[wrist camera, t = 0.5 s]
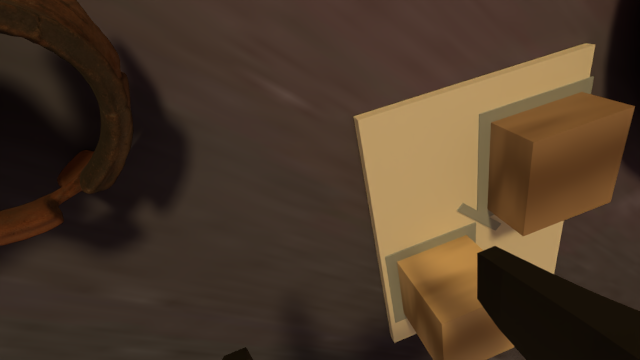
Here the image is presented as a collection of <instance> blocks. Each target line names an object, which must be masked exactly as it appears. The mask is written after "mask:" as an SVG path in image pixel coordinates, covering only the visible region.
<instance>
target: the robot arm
mask: <svg viewBox="0 0 640 360" xmlns="http://www.w3.org/2000/svg"><path fill="white" fill-rule="evenodd" d="M477 299H478V301H479V302H480V303H481V305H482V306H483V308H484V309H485V311H486V312H487V313H488V315H489V316H490V318H491V319H492V320H493V322H494V323H495V324H496V326H497V327H498V328H499V330H500V331H501V332H502V333H503V334H504V335H505V336H506V338H507V339H508V340H509V341H510V342H511V343H512V344H513V345H514V346H515V348H516V349H517V350H518V351H519V352H520V353H521V354H522V355H523V356H524V357H525V359H526V360H640V311H638V310H635V309H633V308H630V307H628V306H625V305H623V304H620V303H618V302H615V301H613V300H611V299H608V298H606V297H603V296H601V295H599V294H596V293H594V292H592V291H589V290H587V289H585V288H583V287H580V286H578V285H576V284H574V283H572V282H570V281H567V280H565V279H563V278H561V277H559V276H557V275H555V274H552V273H550V272H548V271H546V270H544V269H542V268H540V267H538V266H536V265H534V264H532V263H530V262H528V261H526V260H523V259H521V258H519V257H517V256H515V255H513V254H511V253H509V252H507V251H505V250H503V249H501V248H499V247H497V246H493V247H491V248H488V249H486V250H483V251H481V252H479V253H477ZM222 360H253V359H252V357H251V355H250V354H249V352H248V350H247V348H246V347H245V348H243V349H240V350H238V351H235V352H233V353H231V354H228V355H226V356H224V358H223V359H222Z"/></svg>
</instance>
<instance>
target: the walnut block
mask: <svg viewBox="0 0 640 360" xmlns="http://www.w3.org/2000/svg"><path fill="white" fill-rule="evenodd" d="M634 108H635V106H632V105H628V104H625V103H621V102H617V101H614V100H610V99H606V98H603V97H599V96H595V95H591V94H588V93H584V92H580V93H577V94H574V95H571V96H568V97H565V98H562V99H559V100H556V101H553V102H550V103H547V104H544V105H541V106H538V107H536V108H533V109H530V110H527V111H524V112H521V113H518V114H515V115H512V116H509V117H506V118H503V119H500V120H497V121H494V122H491V132H490V157H489V181H488V206H487V209H488V210H489V211H491V212H492V213H493V214H494V215H496V216H497V217H498V218H500V219H501V220H502V221H504V222H505V223H506V224H508V225H509V226H510V227H511V228H513V229H514V230H515V231H517V232H518V233H519V234H521V235H522V236H526V235H528V234H531V233H533V232H536V231H538V230H541V229H543V228H546V227H548V226H551V225H553V224H556V223H559V222H561V221H564V220H566V219H569V218H571V217H574V216H576V215H579V214H581V213H584V212H586V211H589V210H591V209H594V208H596V207H599V206H601V205H604V204H607V203H609V202H611V198H612V194H613V190H614V186H615V182H616V178H617V174H618V171H619V167H620V163H621V159H622V155H623V151H624V147H625V143H626V139H627V136H628V132H629V128H630V124H631V120H632V116H633V112H634Z"/></svg>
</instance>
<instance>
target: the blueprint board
mask: <svg viewBox="0 0 640 360" xmlns="http://www.w3.org/2000/svg"><path fill="white" fill-rule="evenodd" d="M594 49H595V45H594V44H587V43H585V44H582V45H578V46H575V47H572V48H569V49H566V50H563V51H559V52H556V53H553V54H550V55H547V56H544V57H540V58H537V59H534V60H531V61H528V62H525V63H521V64H518V65H515V66H512V67H509V68H506V69H502V70H499V71H496V72H493V73H490V74H486V75H483V76H480V77H477V78H474V79H471V80H467V81H464V82H461V83H458V84H455V85H452V86H448V87H445V88H442V89H439V90H436V91H433V92H429V93H426V94H423V95H420V96H417V97H414V98H410V99H407V100H404V101H401V102H398V103H395V104H391V105H388V106H385V107H382V108H379V109H376V110H372V111H369V112H366V113H363V114H360V115H357V116H353V117H354V123H355V129H356V135H357V141H358V147H359V152H360V158H361V164H362V170H363V176H364V182H365V188H366V194H367V199H368V205H369V211H370V217H371V223H372V229H373V235H374V241H375V247H376V252H377V258H378V264H379V270H380V276H381V282H382V288H383V294H384V299H385V305H386V311H387V317H388V323H389V329H390V335H391V338H392V340H393V341H394V343H395V342H398V341H400V340H403V339H405V338H407V337H410V336H412V335H415V334H417V333H416V332H415V330H414V328H413V327H412V325H411V324H410V322H409V321H408V319H407V317H406V316H405V314H404V311H403V304H402V296H401V289H400V281H399V274H398V266H397V261H400V260H403V259H405V258H408V257H410V256H413V255H416V254H418V253H421V252H423V251H426V250H429V249H431V248H434V247H436V246H439V245H442V244H444V243H447V242H449V241H452V240H455V239H457V238H460V237H462V236H465V235H467V236H468V237H469V238H470V239H472V240H473V241H474V242H475V243H476V244H477V245H478V246H479V247H480V248H481V249H482V250H486V249H488V248H491V247H493V246H497V247H499V248H501V249H503V250H505V251H507V252H509V253H511V254H513V255H515V256H517V257H519V258H521V259H523V260H526V261H528V262H530V263H532V264H534V265H536V266H538V267H540V268H542V269H544V270H546V271H548V272H550V273H552V274H554V271H555V266H556V260H557V254H558V249H559V243H560V238H561V232H562V227H563V221H561V222H559V223H556V224H553V225H551V226H548V227H546V228H543V229H541V230H538V231H536V232H533V233H531V234H528V235H526V236H522V235H521V234H519V233H518V232H517V231H515V230H514V229H513V228H511V227H510V226H509V225H508V224H506V223H505V222H504V221H502V220H501V219H500V218H498V217H497V216H496V215H494V214H493V213H492V212H491V211H489V210H488V209H487V206H488V181H489V157H490V132H491V122H494V121H497V120H500V119H503V118H506V117H509V116H512V115H515V114H518V113H521V112H524V111H527V110H530V109H533V108H536V107H538V106H541V105H544V104H547V103H550V102H553V101H556V100H559V99H562V98H565V97H568V96H571V95H574V94H577V93H580V92H584V93H588V94H591V90H592V85H593V79H594V76H592V77H590V72H591V66H592V60H593V55H594Z"/></svg>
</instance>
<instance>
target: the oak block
mask: <svg viewBox="0 0 640 360" xmlns="http://www.w3.org/2000/svg"><path fill="white" fill-rule="evenodd" d="M481 251H483V250H482V249H481V248H480V247H479V246H478V245H477V244H476V243H475V242H474V241H473V240H472V239H470V238H469V237H468V236H467V235H465V236H462V237H460V238H457V239H455V240H452V241H449V242H447V243H444V244H442V245H439V246H436V247H434V248H431V249H429V250H426V251H423V252H421V253H418V254H416V255H413V256H410V257H408V258H405V259H403V260H400V261H397V266H398V274H399V281H400V289H401V296H402V304H403V311H404V314H405V316H406V317H407V319H408V321H409V322H410V324H411V325H412V327H413V328H414V330H415V332H416V333H417V335H418V336H419V338H420V340H421V341H422V343H423V344H424V346H425V348H426V349H427V351H428V352H429V354H430V356H431V357H432V359H433V360H486V359H489V358H491V357H493V356H495V355H498V354H500V353H502V352H504V351H507V350H509V349H511V348H513V347H515V346H514V345H513V344H512V343H511V342H510V341H509V340H508V339H507V338H506V336H505V335H504V334H503V333H502V332H501V331H500V330H499V328H498V327H497V326H496V324H495V323H494V322H493V320H492V319H491V318H490V316H489V315H488V313H487V312H486V311H485V309H484V308H483V306H482V305H481V303H480V302H479V301H478V299H477V253H479V252H481Z"/></svg>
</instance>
